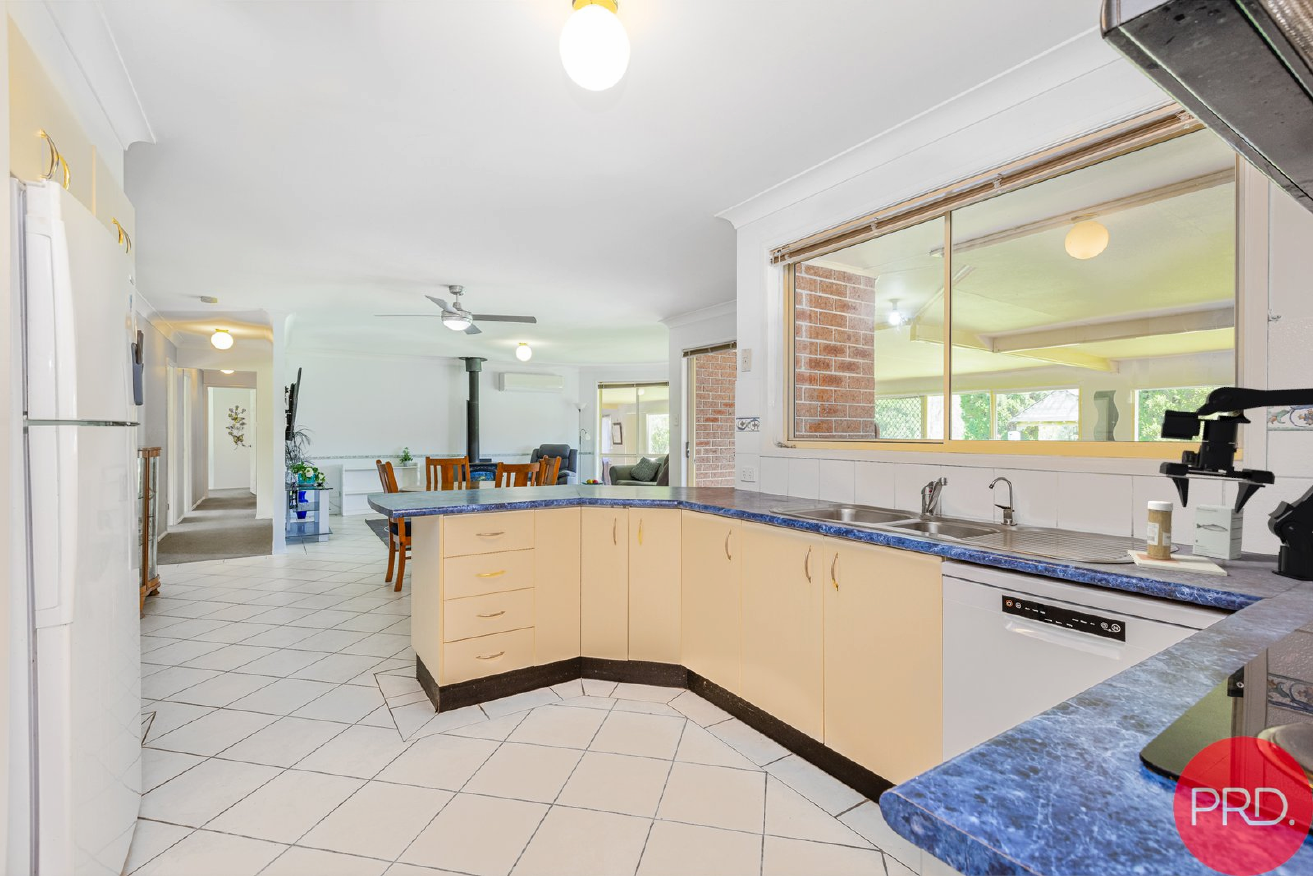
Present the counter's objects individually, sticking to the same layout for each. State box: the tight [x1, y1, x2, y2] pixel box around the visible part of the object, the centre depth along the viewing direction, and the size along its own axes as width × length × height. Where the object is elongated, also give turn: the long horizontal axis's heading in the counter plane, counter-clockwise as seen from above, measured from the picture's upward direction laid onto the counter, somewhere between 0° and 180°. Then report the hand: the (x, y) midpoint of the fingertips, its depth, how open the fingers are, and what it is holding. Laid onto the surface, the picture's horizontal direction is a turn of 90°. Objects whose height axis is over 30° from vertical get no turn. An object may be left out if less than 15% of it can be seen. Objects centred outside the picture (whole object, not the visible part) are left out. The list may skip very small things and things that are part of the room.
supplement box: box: [1192, 503, 1245, 561], centre depth 150 cm, size 7×7×13 cm
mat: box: [1127, 549, 1228, 577], centre depth 141 cm, size 15×18×1 cm
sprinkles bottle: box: [1146, 500, 1174, 560], centre depth 142 cm, size 5×5×13 cm
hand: (1209, 510), depth 138 cm, fingers open, 9 cm apart
